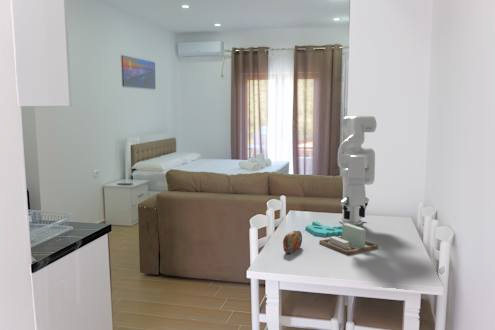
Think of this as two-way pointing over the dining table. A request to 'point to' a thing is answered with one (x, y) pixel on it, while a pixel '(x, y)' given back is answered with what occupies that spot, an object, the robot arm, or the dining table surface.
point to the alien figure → (323, 230)
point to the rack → (353, 249)
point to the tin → (292, 241)
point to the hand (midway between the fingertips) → (354, 217)
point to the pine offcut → (341, 247)
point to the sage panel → (354, 235)
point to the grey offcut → (339, 242)
